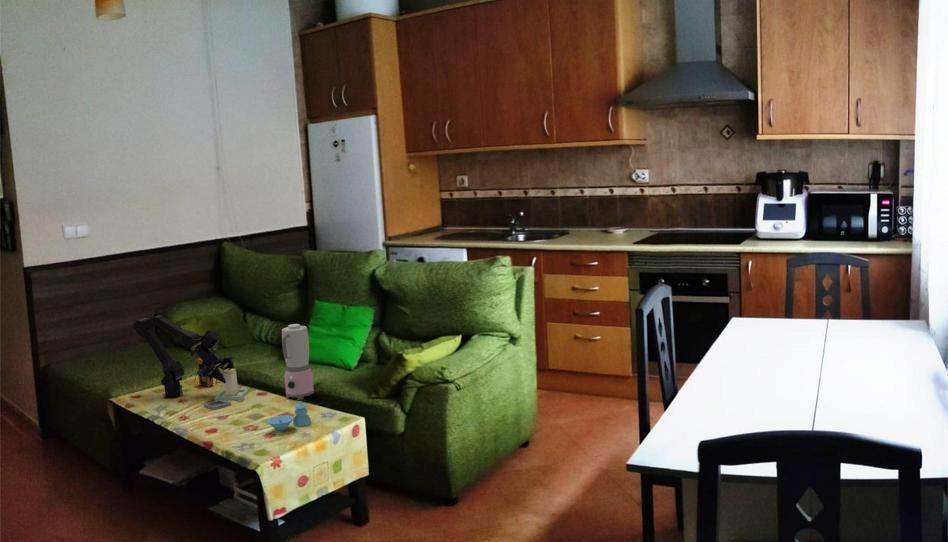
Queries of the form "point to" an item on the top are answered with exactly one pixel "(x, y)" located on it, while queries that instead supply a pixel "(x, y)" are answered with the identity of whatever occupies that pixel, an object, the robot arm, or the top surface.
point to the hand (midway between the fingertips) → (230, 379)
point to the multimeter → (202, 380)
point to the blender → (297, 361)
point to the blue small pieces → (291, 418)
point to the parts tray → (222, 396)
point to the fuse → (230, 382)
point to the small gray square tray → (217, 404)
